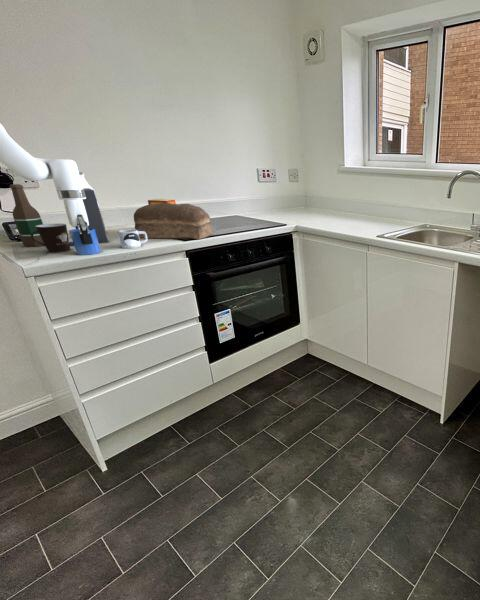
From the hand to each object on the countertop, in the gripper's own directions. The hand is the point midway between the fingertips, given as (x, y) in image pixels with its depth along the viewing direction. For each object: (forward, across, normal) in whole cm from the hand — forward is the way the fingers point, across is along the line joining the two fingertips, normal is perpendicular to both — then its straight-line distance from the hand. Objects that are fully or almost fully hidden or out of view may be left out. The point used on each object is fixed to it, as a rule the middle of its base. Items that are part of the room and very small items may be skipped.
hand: (85, 242), depth 135 cm
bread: (+4, -15, +35) cm, 38 cm away
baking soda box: (+4, -32, +36) cm, 48 cm away
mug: (+4, -3, +16) cm, 17 cm away
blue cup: (+4, 0, 0) cm, 4 cm away
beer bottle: (+4, -28, -13) cm, 31 cm away
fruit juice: (+4, -45, +8) cm, 46 cm away
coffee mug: (+4, -10, -9) cm, 15 cm away
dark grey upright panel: (+4, -24, +1) cm, 24 cm away
